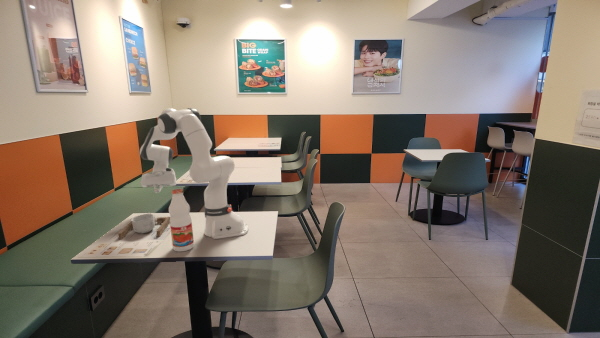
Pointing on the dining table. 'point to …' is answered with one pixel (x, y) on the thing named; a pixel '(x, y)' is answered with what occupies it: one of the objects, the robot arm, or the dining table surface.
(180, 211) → the fruit juice
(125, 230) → the wooden l-brackets
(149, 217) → the teacup
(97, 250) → the dining table surface
